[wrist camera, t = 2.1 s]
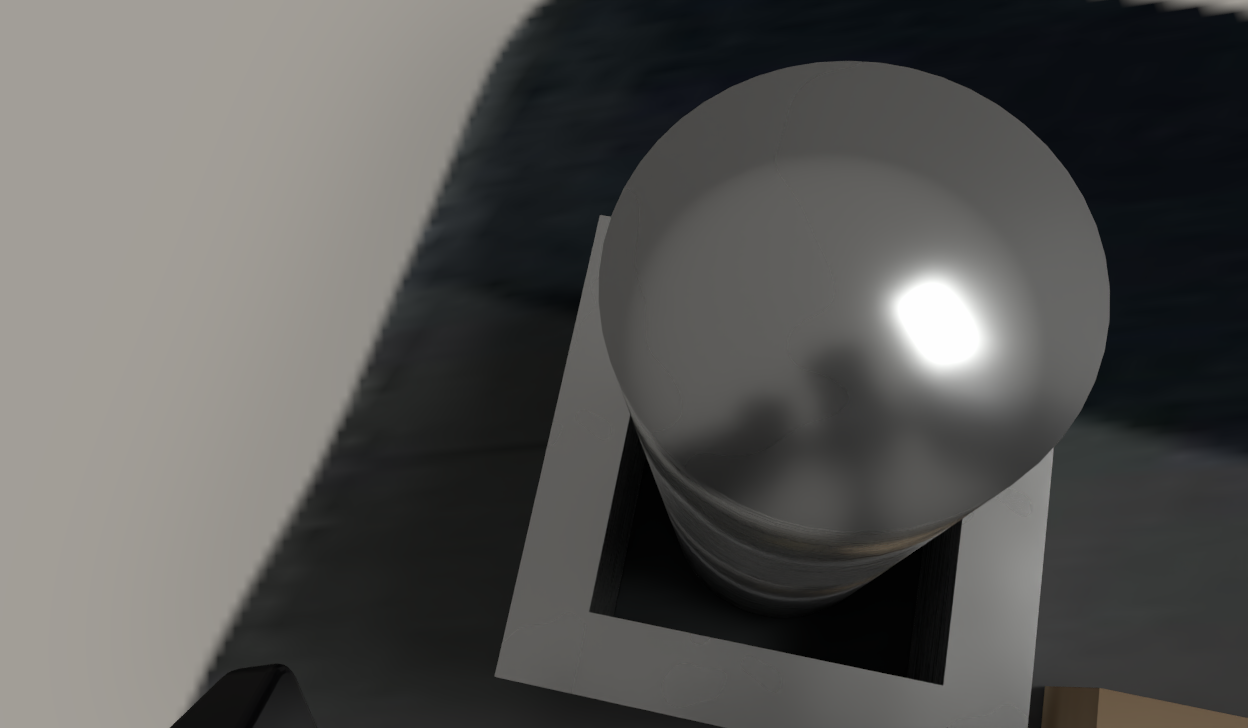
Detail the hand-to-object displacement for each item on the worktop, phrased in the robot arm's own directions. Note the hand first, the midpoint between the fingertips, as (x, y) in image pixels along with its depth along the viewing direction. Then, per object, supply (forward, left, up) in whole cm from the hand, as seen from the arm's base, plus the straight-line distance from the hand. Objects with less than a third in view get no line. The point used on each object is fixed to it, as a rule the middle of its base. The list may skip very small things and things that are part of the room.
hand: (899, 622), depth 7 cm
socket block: (+2, +1, -10) cm, 10 cm away
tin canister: (+2, +1, -10) cm, 10 cm away
